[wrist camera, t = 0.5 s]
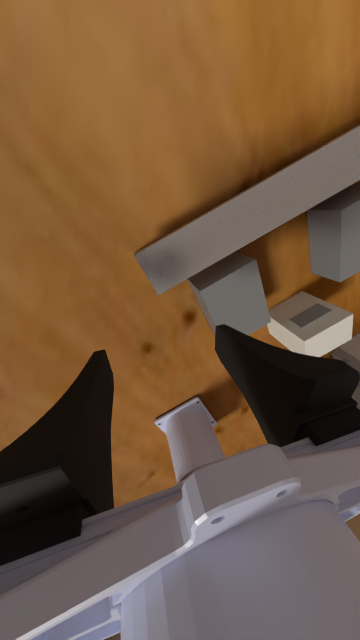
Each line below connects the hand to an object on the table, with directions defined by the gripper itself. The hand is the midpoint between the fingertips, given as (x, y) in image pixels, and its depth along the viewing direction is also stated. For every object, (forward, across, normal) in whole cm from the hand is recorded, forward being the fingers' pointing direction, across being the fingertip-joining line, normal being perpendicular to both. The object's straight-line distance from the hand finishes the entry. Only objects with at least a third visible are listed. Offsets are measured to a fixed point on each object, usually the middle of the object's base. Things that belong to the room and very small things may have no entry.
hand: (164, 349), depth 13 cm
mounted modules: (+10, -16, -1) cm, 19 cm away
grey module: (+10, -19, +6) cm, 22 cm away
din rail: (+10, -13, -8) cm, 18 cm away
